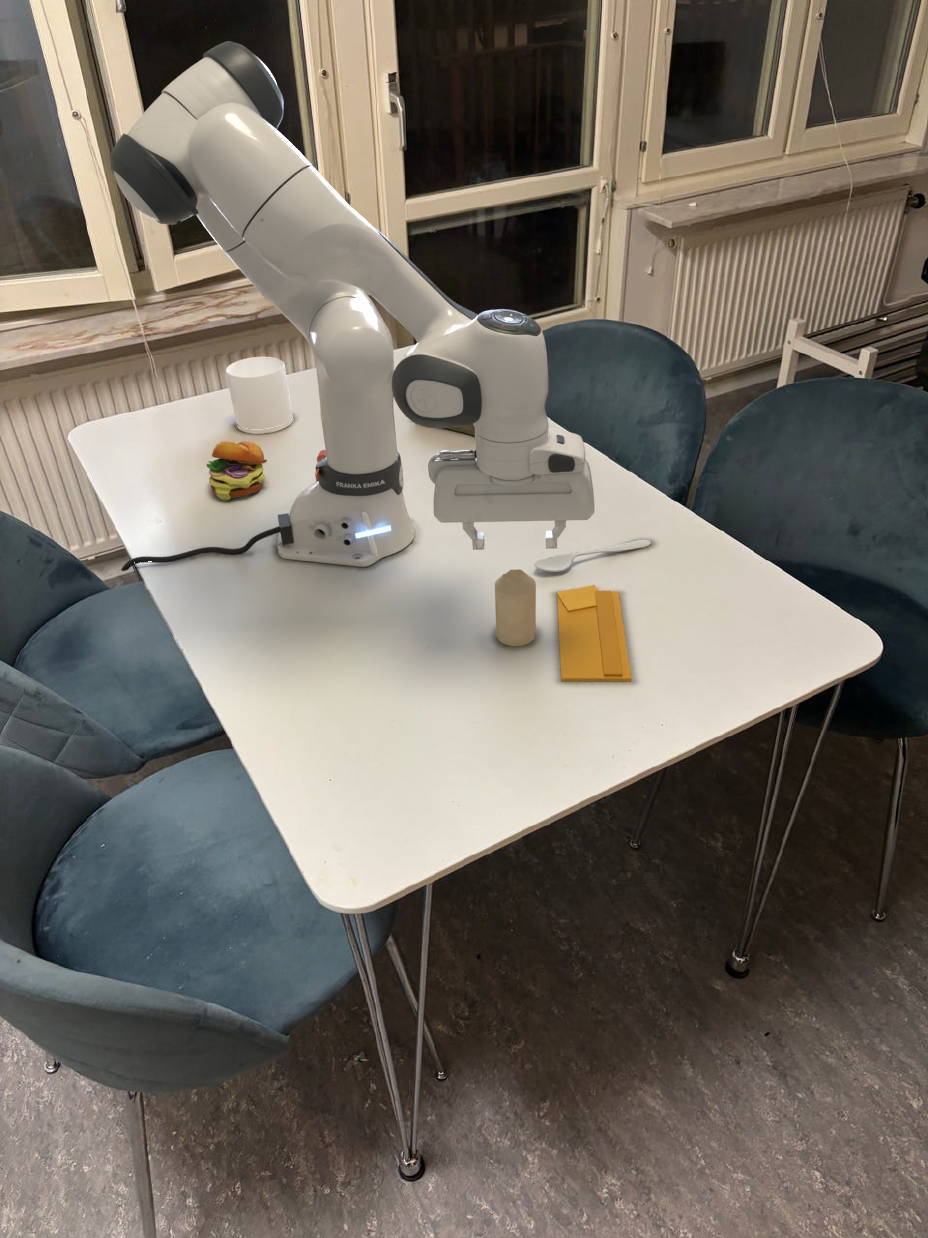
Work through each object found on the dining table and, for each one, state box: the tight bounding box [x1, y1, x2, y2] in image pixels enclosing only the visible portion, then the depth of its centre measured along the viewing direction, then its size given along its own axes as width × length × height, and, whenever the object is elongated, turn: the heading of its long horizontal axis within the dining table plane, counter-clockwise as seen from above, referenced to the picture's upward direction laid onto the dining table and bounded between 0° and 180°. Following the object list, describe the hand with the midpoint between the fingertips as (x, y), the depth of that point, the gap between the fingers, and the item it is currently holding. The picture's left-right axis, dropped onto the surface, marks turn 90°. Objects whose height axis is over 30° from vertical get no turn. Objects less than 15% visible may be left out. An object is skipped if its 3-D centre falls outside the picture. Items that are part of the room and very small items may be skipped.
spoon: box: [533, 539, 652, 573], centre depth 141 cm, size 4×21×2 cm, turn 113°
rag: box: [556, 584, 632, 682], centre depth 126 cm, size 9×21×1 cm, turn 177°
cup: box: [225, 356, 294, 435], centre depth 186 cm, size 12×12×12 cm
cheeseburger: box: [206, 440, 268, 502], centre depth 164 cm, size 10×11×10 cm
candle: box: [494, 568, 537, 647], centre depth 124 cm, size 6×6×10 cm
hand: (514, 546), depth 118 cm, fingers open, 8 cm apart
